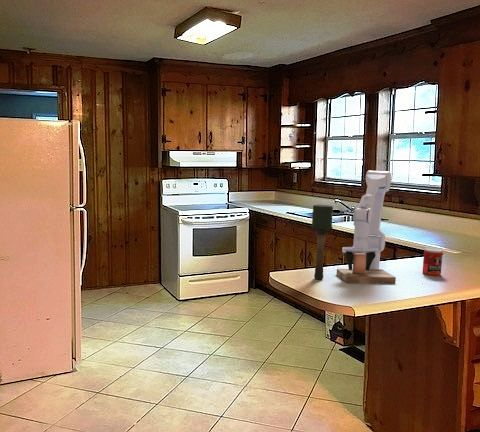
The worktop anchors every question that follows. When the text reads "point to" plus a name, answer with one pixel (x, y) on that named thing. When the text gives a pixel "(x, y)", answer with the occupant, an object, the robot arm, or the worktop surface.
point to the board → (366, 276)
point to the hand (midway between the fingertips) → (358, 270)
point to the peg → (359, 263)
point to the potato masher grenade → (321, 233)
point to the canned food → (432, 261)
